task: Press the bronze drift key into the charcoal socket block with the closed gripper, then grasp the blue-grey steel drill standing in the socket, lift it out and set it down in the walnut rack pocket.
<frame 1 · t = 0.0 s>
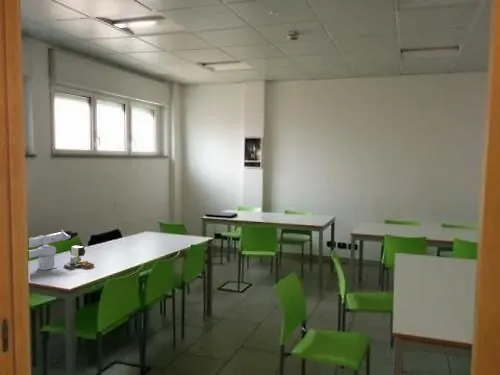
hand: (74, 233, 305), 22 cm above the table, tool horizontal, fingers open, 7 cm apart
drift key: (82, 263, 300), point 2 cm above the table, slide at 0.0 cm
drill: (72, 262, 293), in the socket block
pneumatic valve: (78, 261, 311), on the table
socket block: (72, 267, 293), on the table
rack: (87, 267, 294), on the table
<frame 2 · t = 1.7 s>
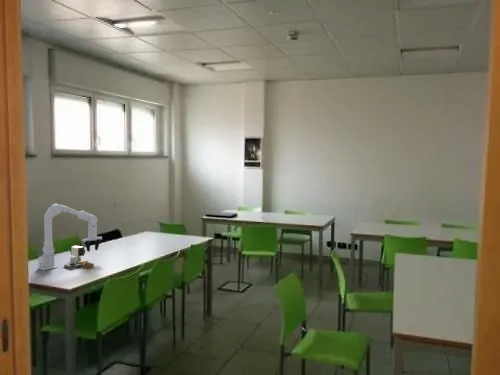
hand: (92, 250, 305), 9 cm above the table, tool pointing down, fingers open, 6 cm apart
nothing on the table moved.
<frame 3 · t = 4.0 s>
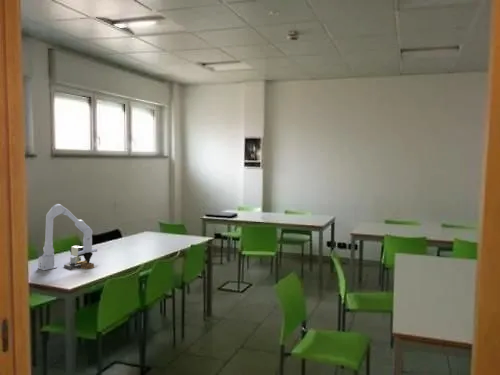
hand: (87, 263, 303), 1 cm above the table, tool pointing down, fingers closed
drift key: (81, 263, 299), point 2 cm above the table, slide at 1.1 cm, touching gripper
everything else where it was.
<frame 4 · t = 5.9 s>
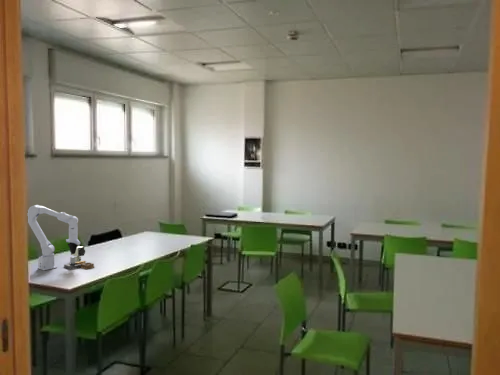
hand: (73, 253, 293), 10 cm above the table, tool pointing down, fingers closed
drift key: (80, 263, 298), point 2 cm above the table, slide at 2.1 cm
everything else where it was.
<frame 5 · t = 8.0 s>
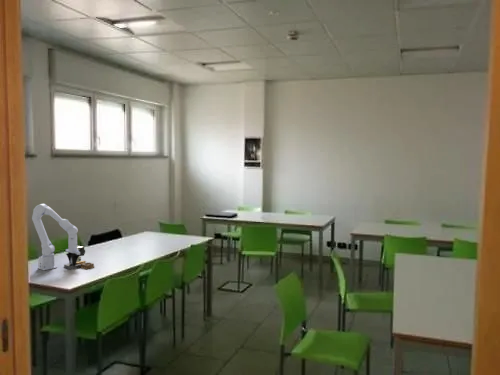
hand: (72, 263, 293), 3 cm above the table, tool pointing down, fingers closed on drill, 3 cm apart
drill: (72, 262, 293), in the socket block, touching gripper
everything else where it was.
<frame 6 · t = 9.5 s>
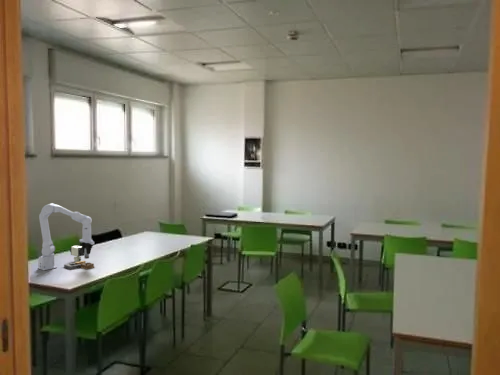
hand: (86, 253, 294), 10 cm above the table, tool pointing down, fingers closed on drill, 3 cm apart
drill: (86, 253, 294), point 10 cm above the table, touching gripper
everything else where it was.
when the fingers open (3 cm above the table, at t = 11.1 s): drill stays where it is, resting on rack.
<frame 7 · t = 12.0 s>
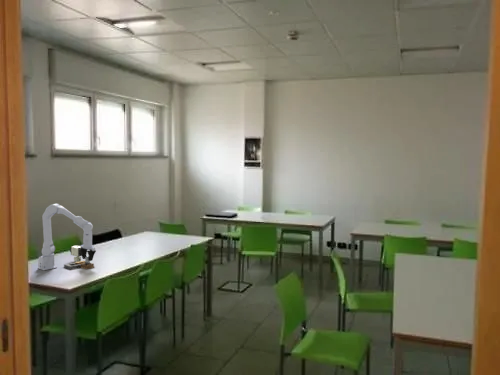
hand: (87, 259, 294), 5 cm above the table, tool pointing down, fingers open, 7 cm apart
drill: (87, 261, 294), in the rack, point 4 cm above the table
everything else where it was.
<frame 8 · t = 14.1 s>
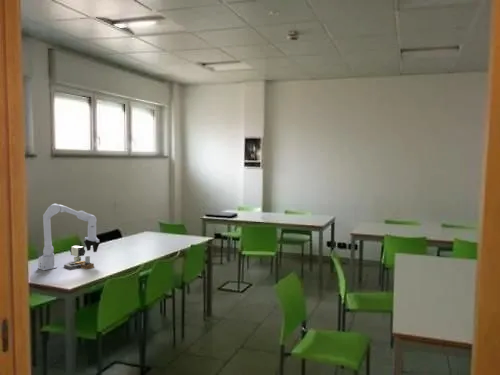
hand: (91, 251, 301), 10 cm above the table, tool pointing down, fingers open, 7 cm apart
nothing on the table moved.
at the end: drift key slide at 2.1 cm; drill 0.0 cm off-centre on the rack, point 4.1 cm above the rack's base; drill tilted 0° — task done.
